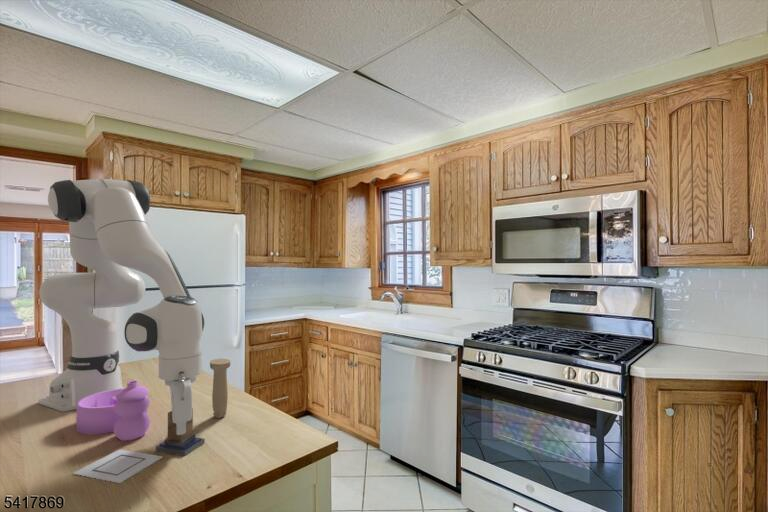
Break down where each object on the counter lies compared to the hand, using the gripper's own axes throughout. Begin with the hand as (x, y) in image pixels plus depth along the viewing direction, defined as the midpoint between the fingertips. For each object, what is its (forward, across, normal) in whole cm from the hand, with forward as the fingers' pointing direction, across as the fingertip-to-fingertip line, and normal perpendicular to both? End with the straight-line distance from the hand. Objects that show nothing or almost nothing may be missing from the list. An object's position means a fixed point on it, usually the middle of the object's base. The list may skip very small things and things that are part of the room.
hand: (180, 427), depth 88 cm
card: (+4, -3, +11) cm, 12 cm away
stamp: (+3, 0, 0) cm, 3 cm away
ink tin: (+4, 0, 0) cm, 4 cm away
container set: (+5, +20, +13) cm, 25 cm away
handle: (+5, +14, -10) cm, 18 cm away
